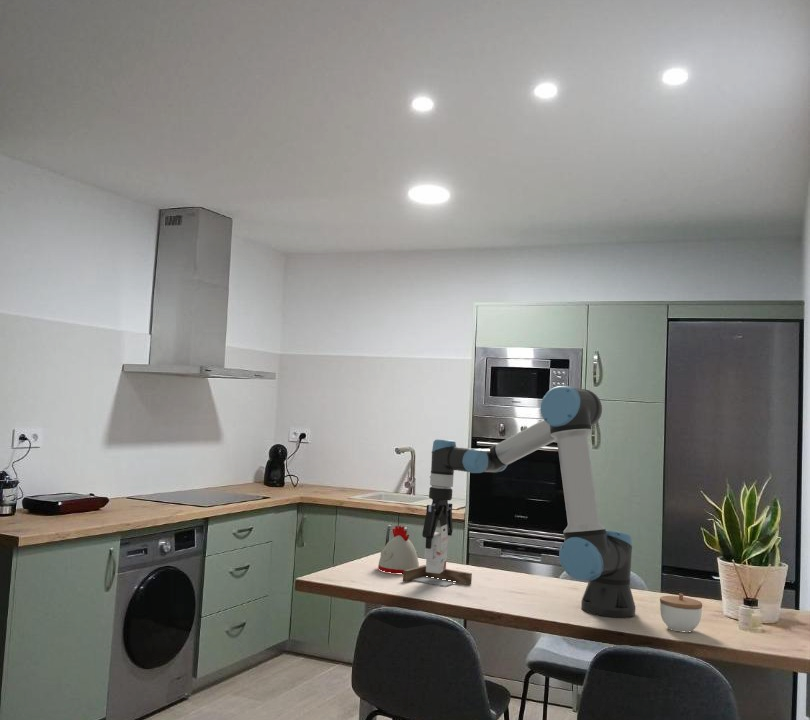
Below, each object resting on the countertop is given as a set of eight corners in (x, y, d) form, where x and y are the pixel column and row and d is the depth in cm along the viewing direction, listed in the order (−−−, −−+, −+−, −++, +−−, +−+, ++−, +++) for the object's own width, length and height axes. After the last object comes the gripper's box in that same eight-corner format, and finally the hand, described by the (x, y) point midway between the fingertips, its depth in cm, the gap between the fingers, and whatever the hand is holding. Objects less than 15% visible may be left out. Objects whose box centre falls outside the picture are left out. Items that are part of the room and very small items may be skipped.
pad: (456, 583, 245) (456, 582, 245) (445, 587, 238) (445, 585, 238) (424, 577, 251) (424, 576, 251) (412, 580, 244) (412, 579, 244)
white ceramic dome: (401, 565, 270) (404, 523, 271) (426, 573, 259) (429, 528, 260) (370, 568, 261) (373, 524, 262) (395, 576, 250) (398, 530, 251)
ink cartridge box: (431, 567, 250) (434, 522, 251) (446, 569, 248) (448, 524, 250) (424, 572, 242) (427, 525, 243) (439, 574, 240) (442, 526, 241)
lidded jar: (707, 631, 204) (708, 595, 205) (692, 637, 196) (693, 600, 197) (668, 622, 211) (669, 588, 212) (652, 628, 203) (653, 592, 204)
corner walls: (471, 584, 245) (471, 573, 245) (451, 590, 233) (452, 579, 233) (423, 575, 254) (424, 565, 254) (402, 581, 242) (403, 570, 242)
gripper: (446, 484, 259) (441, 551, 257) (414, 487, 240) (409, 559, 238) (466, 487, 255) (461, 555, 253) (435, 489, 236) (430, 562, 234)
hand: (436, 557), depth 245 cm, fingers closed on ink cartridge box, 9 cm apart
